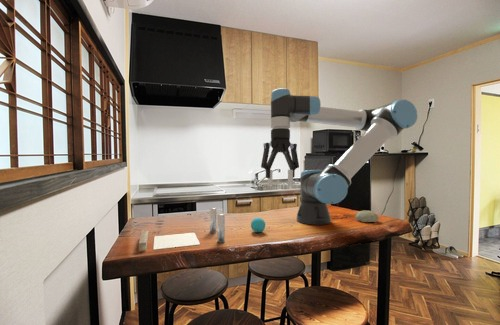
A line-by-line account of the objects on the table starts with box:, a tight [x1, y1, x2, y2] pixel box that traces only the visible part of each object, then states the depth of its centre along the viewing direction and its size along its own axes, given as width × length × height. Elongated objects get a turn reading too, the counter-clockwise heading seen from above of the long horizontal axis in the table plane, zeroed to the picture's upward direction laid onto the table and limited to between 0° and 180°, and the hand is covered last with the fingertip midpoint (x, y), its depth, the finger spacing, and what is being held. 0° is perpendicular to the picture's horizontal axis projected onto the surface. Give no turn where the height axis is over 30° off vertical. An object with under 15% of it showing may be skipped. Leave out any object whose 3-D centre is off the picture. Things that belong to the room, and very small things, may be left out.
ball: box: [250, 217, 266, 233], centre depth 92 cm, size 6×6×6 cm
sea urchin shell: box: [355, 209, 380, 223], centre depth 110 cm, size 9×8×8 cm
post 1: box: [209, 207, 217, 234], centre depth 92 cm, size 2×2×9 cm
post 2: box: [216, 213, 226, 244], centre depth 81 cm, size 2×2×9 cm
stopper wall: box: [138, 230, 149, 253], centre depth 78 cm, size 2×14×2 cm, turn 21°
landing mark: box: [152, 232, 201, 251], centre depth 82 cm, size 14×14×1 cm
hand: (280, 186), depth 95 cm, fingers open, 8 cm apart
